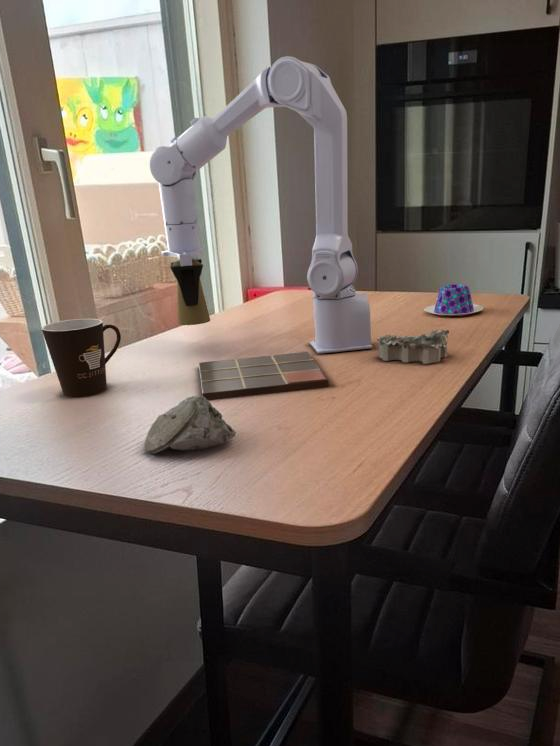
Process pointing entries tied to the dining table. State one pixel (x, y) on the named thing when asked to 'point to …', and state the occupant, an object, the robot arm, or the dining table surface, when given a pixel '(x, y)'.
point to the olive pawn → (191, 313)
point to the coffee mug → (79, 355)
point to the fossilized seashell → (188, 427)
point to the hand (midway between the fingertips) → (191, 302)
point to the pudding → (454, 301)
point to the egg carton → (414, 347)
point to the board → (260, 375)
